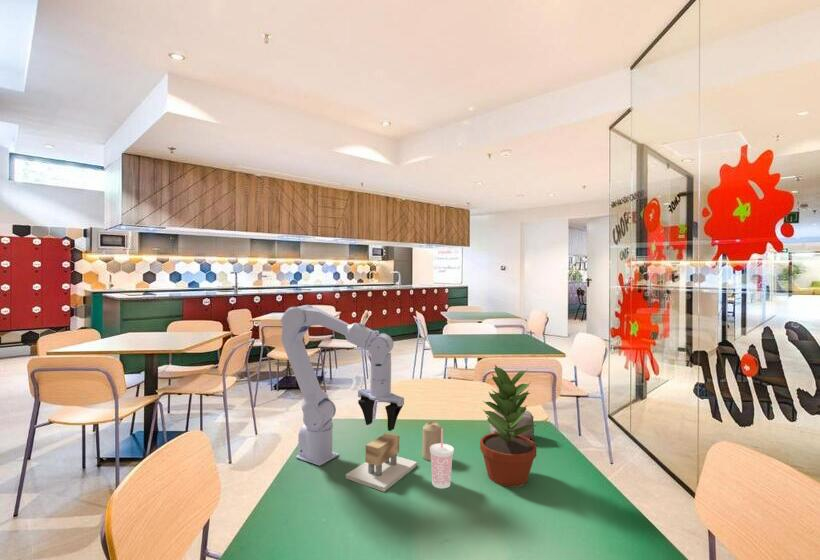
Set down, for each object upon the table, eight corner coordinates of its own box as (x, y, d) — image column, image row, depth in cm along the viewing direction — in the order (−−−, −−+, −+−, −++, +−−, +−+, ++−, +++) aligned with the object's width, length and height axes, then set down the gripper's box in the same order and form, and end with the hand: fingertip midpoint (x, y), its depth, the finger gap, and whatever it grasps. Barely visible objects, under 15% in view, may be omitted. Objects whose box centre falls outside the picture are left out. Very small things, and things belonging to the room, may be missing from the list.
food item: (493, 442, 128) (494, 411, 128) (487, 432, 136) (488, 403, 136) (535, 442, 128) (536, 411, 128) (527, 432, 136) (528, 403, 136)
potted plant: (546, 475, 107) (548, 363, 106) (519, 498, 95) (521, 372, 95) (497, 457, 117) (499, 354, 116) (467, 476, 106) (469, 362, 105)
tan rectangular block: (378, 466, 102) (378, 448, 102) (365, 462, 104) (365, 445, 104) (399, 451, 110) (399, 435, 110) (387, 448, 113) (387, 432, 113)
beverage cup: (425, 486, 100) (426, 431, 100) (433, 475, 106) (434, 422, 105) (449, 492, 98) (450, 435, 97) (456, 480, 103) (457, 426, 103)
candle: (440, 462, 113) (440, 427, 113) (421, 460, 114) (421, 425, 114) (442, 453, 119) (443, 420, 119) (424, 451, 120) (424, 418, 120)
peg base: (345, 478, 104) (345, 462, 104) (381, 455, 117) (381, 441, 117) (383, 491, 97) (384, 475, 97) (416, 465, 111) (417, 451, 111)
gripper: (351, 377, 112) (350, 425, 112) (394, 385, 104) (393, 437, 105) (366, 372, 118) (366, 418, 118) (408, 379, 110) (407, 428, 111)
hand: (379, 426), depth 112 cm, fingers open, 7 cm apart
